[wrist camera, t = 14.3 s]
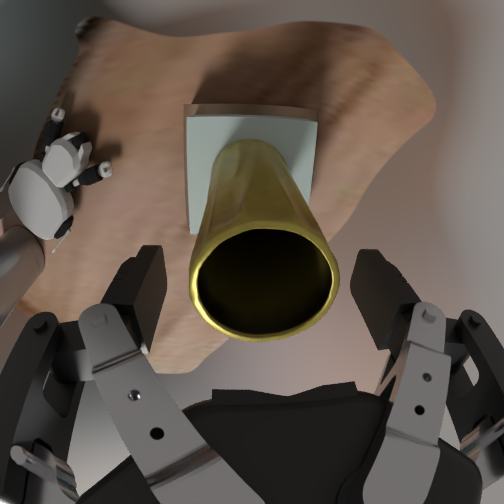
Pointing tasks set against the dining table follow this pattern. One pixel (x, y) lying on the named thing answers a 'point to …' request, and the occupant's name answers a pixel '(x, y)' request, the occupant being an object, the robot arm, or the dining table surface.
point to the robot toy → (53, 181)
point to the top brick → (239, 128)
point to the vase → (259, 250)
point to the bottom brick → (241, 110)
